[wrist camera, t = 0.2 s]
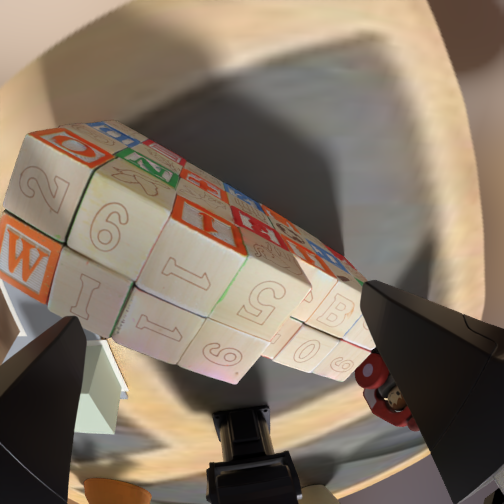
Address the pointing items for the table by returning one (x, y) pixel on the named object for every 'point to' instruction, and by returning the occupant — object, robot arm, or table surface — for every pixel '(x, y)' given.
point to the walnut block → (6, 328)
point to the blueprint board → (44, 326)
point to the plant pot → (317, 495)
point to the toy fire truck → (383, 392)
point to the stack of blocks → (174, 259)
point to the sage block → (98, 394)
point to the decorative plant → (114, 492)
